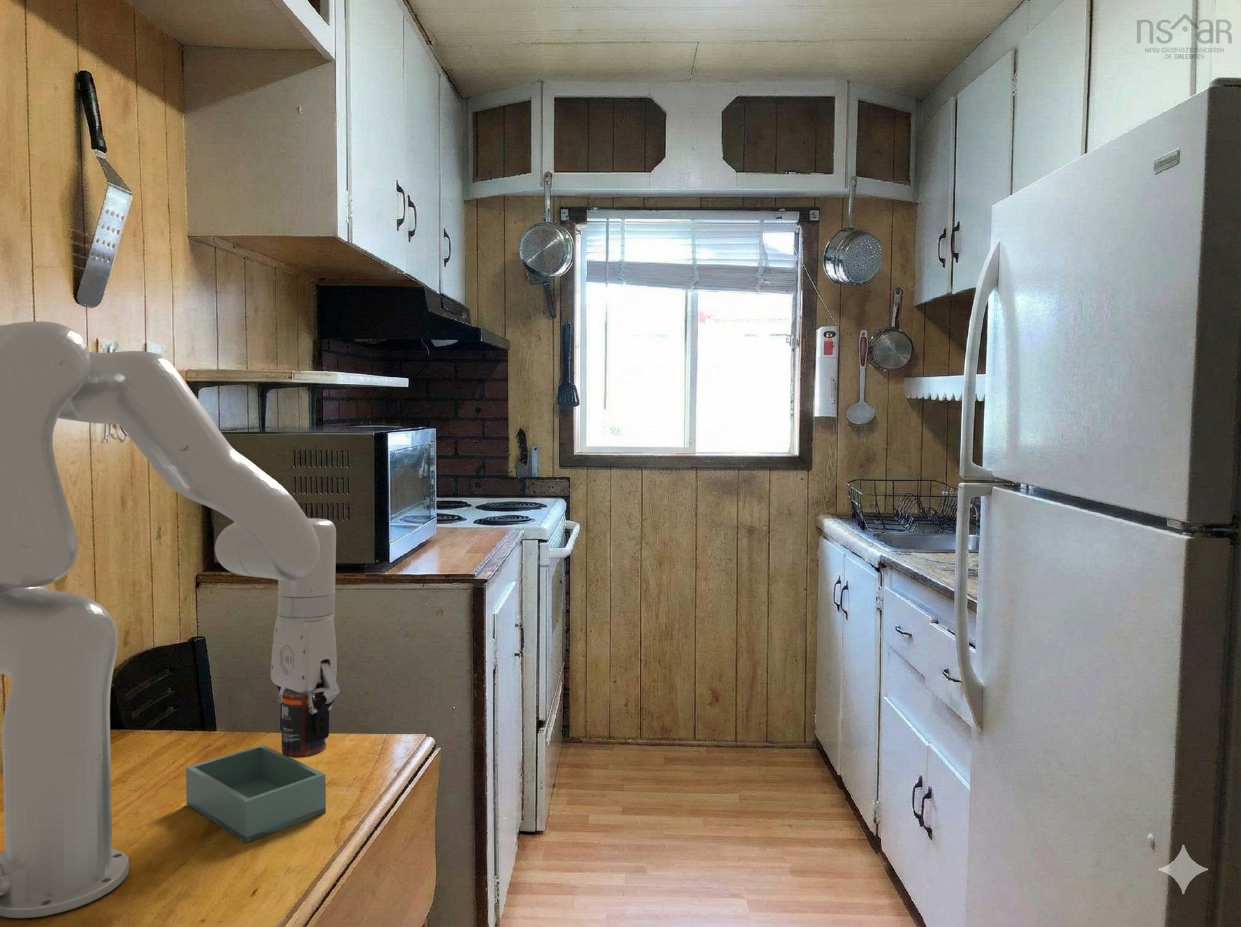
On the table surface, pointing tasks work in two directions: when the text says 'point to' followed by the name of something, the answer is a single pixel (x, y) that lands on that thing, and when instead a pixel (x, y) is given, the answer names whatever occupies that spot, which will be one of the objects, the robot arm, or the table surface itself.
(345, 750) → the table surface
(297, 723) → the supplement bottle
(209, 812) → the box
